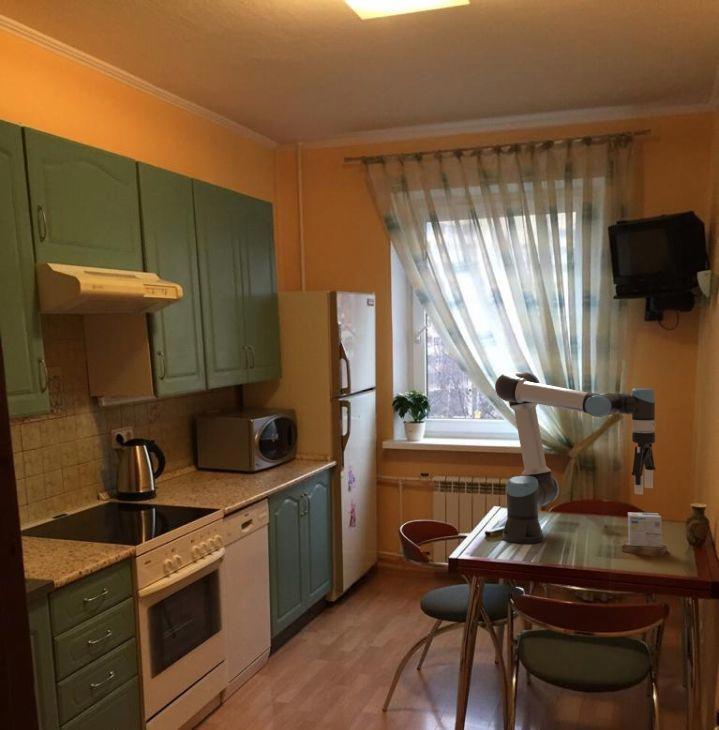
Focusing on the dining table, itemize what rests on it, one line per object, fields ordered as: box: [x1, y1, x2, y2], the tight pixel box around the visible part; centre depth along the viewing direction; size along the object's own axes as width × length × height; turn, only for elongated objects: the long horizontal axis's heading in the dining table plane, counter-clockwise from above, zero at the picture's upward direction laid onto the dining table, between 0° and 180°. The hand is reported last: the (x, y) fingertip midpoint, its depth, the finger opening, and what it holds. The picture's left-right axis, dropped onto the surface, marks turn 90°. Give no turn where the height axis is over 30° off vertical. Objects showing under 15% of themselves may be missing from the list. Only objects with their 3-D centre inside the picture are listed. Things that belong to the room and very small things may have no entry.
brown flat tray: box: [621, 540, 668, 558], centre depth 237 cm, size 13×9×2 cm
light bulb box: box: [627, 511, 663, 547], centre depth 236 cm, size 11×7×11 cm, turn 76°
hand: (643, 491), depth 236 cm, fingers open, 13 cm apart
